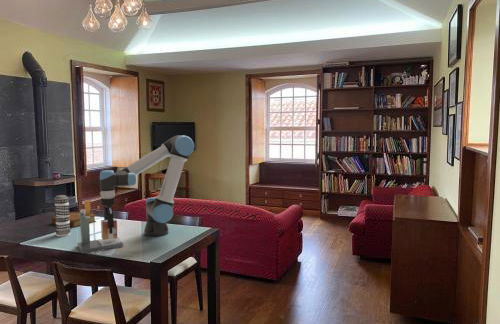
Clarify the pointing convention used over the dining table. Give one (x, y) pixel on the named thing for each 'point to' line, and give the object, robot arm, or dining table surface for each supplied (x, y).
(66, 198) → the decorative candle
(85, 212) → the press lever
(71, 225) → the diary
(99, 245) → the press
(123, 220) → the dining table surface
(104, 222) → the small box
